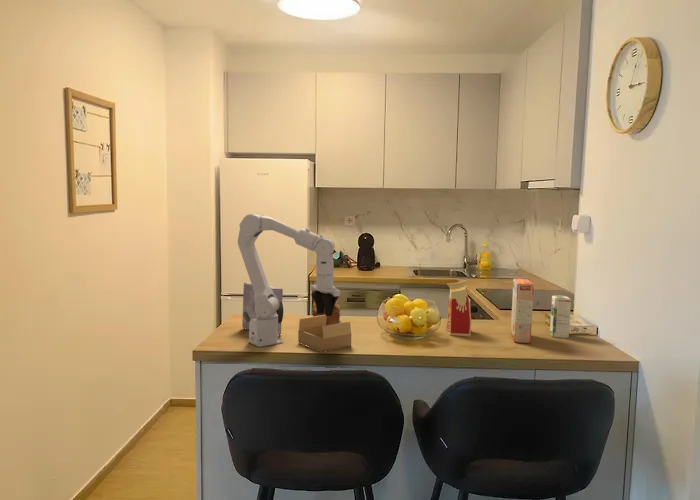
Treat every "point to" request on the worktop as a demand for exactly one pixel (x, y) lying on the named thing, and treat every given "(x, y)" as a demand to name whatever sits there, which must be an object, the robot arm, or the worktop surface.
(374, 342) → the worktop surface
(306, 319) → the far flap
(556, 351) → the worktop surface
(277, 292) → the cake pan box
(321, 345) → the carton
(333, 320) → the bread
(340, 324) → the near flap
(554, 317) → the syrup box
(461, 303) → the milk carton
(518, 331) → the cracker box
